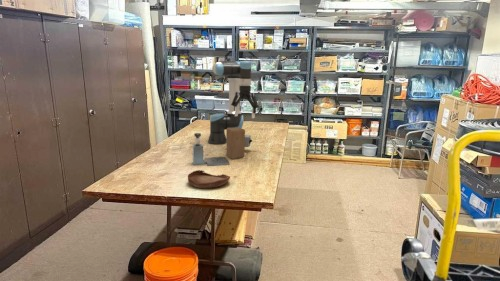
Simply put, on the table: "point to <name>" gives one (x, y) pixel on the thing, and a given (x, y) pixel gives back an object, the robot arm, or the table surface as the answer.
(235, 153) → the wooden block
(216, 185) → the broken brown bowl
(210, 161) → the press
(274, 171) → the table surface
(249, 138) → the circuit breaker
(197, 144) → the plunger
